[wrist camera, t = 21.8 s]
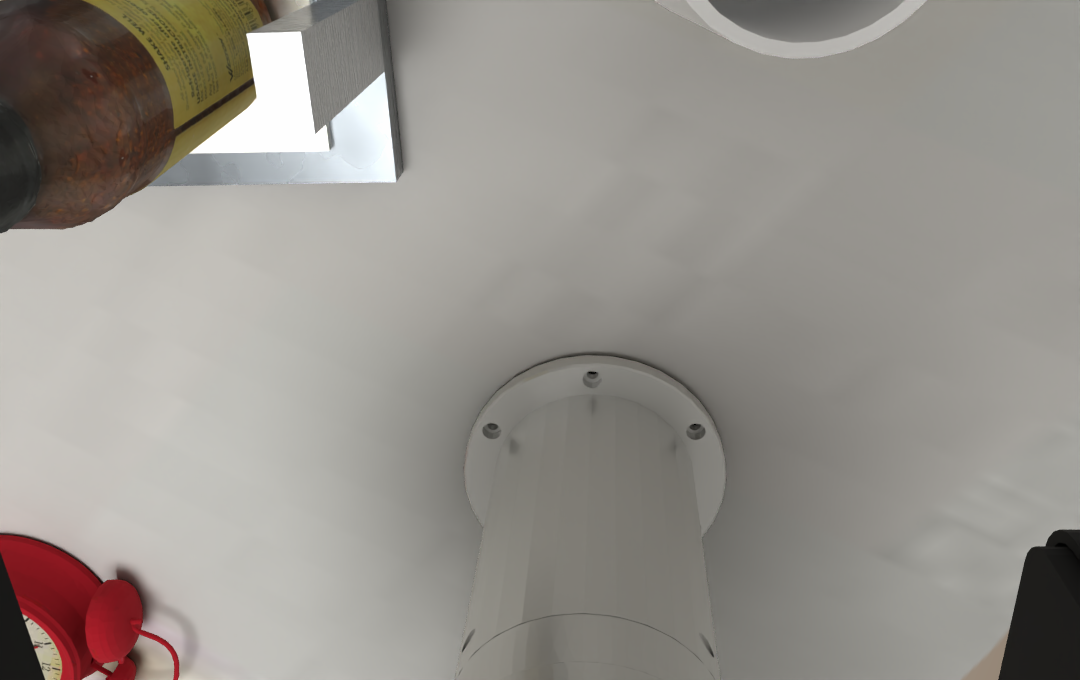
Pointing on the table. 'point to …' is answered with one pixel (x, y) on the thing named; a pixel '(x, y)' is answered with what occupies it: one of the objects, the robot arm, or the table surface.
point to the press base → (339, 166)
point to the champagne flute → (796, 23)
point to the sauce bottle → (112, 97)
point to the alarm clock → (74, 613)
